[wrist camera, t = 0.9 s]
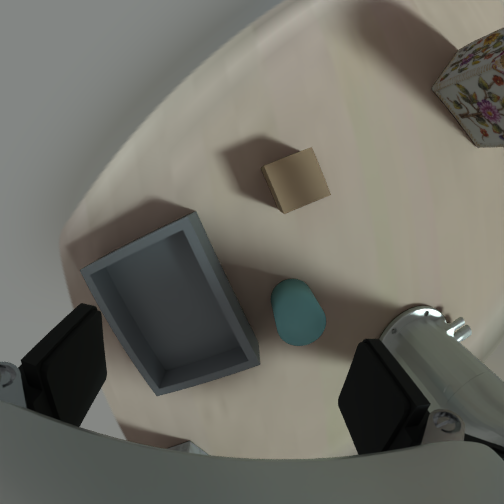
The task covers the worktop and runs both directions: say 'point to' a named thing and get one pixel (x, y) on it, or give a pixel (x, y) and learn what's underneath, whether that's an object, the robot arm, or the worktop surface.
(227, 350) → the tote
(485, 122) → the decorative jar
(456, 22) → the worktop surface
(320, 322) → the teal cylinder
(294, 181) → the walnut cube
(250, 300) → the worktop surface
